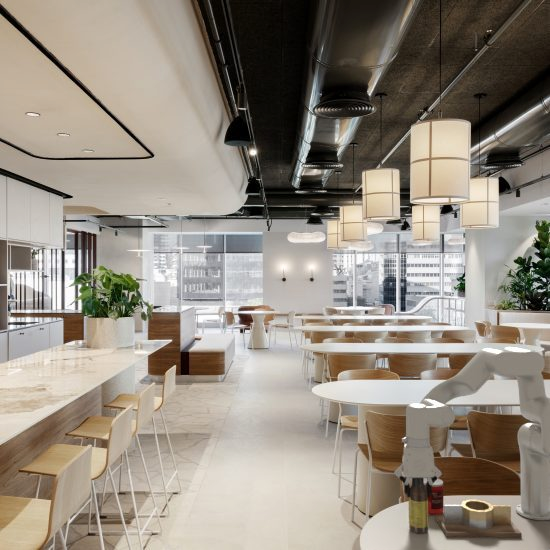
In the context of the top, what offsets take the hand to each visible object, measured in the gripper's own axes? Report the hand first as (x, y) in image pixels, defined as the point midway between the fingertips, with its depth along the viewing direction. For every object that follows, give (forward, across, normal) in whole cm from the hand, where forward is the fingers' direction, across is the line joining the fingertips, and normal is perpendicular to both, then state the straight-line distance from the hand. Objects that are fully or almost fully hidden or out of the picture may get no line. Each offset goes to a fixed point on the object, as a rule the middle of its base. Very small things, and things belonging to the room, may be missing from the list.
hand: (418, 495), depth 193 cm
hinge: (+10, +20, +2) cm, 23 cm away
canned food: (+12, +8, +15) cm, 21 cm away
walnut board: (+12, +20, +2) cm, 23 cm away
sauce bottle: (+12, 0, 0) cm, 12 cm away
